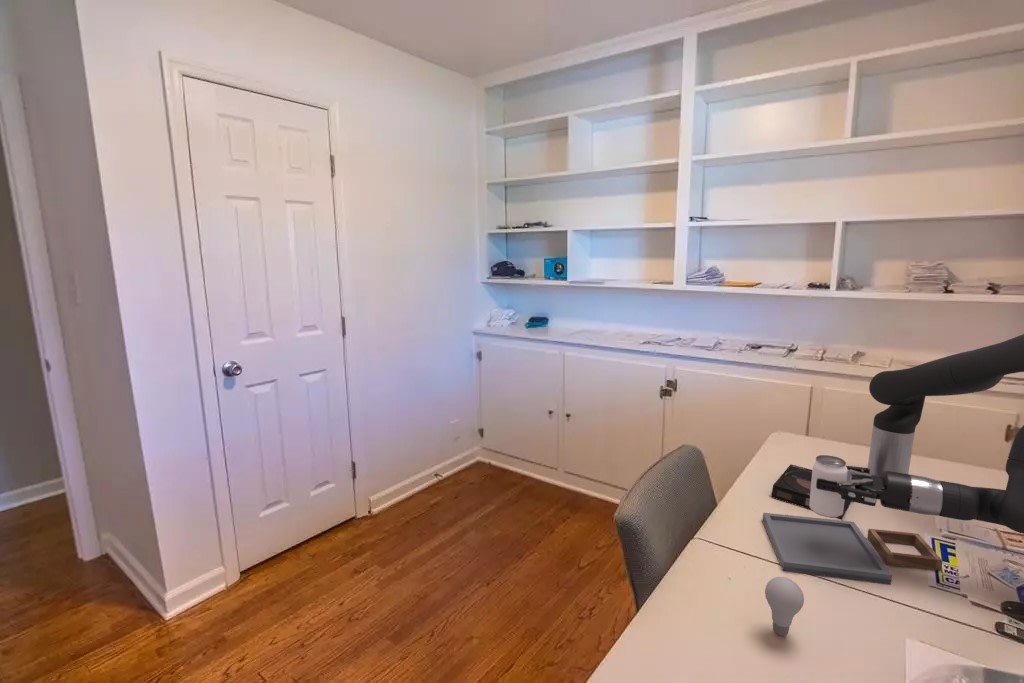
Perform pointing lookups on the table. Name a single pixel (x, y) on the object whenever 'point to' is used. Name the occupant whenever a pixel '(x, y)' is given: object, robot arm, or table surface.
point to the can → (822, 499)
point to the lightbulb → (783, 602)
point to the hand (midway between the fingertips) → (816, 477)
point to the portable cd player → (797, 487)
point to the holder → (899, 559)
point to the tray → (824, 548)
